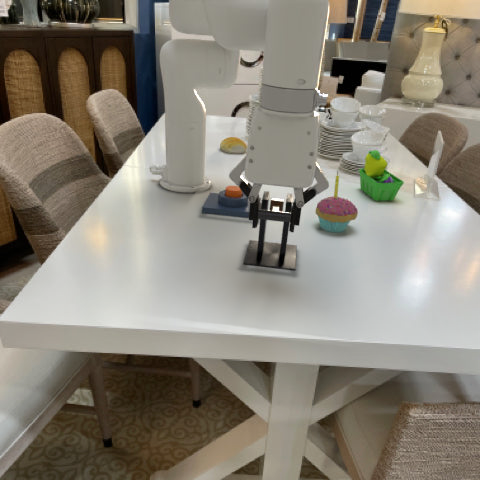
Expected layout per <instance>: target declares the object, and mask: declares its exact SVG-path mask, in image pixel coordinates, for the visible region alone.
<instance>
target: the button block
mask: <svg viewBox="0 0 480 480" xmlns="http://www.w3.org/2000/svg"><path fill="white" fill-rule="evenodd" d="M225 192H226V189H224V190H221V191H219V192H209V194H208V196H207V197H206V200H205V201H204V203H203V205H202V207H201V214H208V215H214V216H215V215H216V216H224V217H234V218H243V219H249V209H250V202H249V200H248V198H247V197H246V195H245V194H244V193H243V192H242V197H238V198H233V197H228V196H225ZM262 198H263V197H259V199H260V201H262Z"/></svg>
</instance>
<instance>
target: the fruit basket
mask: <svg viewBox="0 0 480 480" xmlns="http://www.w3.org/2000/svg"><path fill="white" fill-rule="evenodd" d="M387 167H388V161H387V160H386V159H385V157H383V156H382V155H381V153H380V151H379V150H376V149H374V150H369V151H368V153H367V154H366V156H365V158H364V168H358V172H359V182H360V183H359V185H360V190H361V191H362V192H364V194H366V195H367V196H369V197H370V198H371V199H372V200H373V201H375V202H378V201H379V202H384V201H385V202H388V201H394V200H395V198H396V197H397V194H398V192H400V189H401V187H403V185H404V183H405V182H404V180H402V179H401V178H398V177H397V176H395V175H394V174H393V173H391V172H390V171H388V170H386V169H387Z"/></svg>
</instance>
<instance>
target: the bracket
mask: <svg viewBox="0 0 480 480" xmlns="http://www.w3.org/2000/svg"><path fill="white" fill-rule="evenodd" d="M270 194H271V192H270V191H268V190H267V191H266V190H265V191H264V190H263V193H262V197H261V198H262V201H260V210H269V206H270V205H269V203H270ZM293 198H294V193H286V199H285V200H286V201H285V207H284V208H285V209H284V212H288V213H291V211H292V204H293ZM267 222H268V220H262V219H259V227H258V237H257V240H252V239H249V241H248V245H247V249H246V253H245V256H244V259H243V265H245V266H253V267H259V268H260V267H261V268H269V269H278V270H286V271H287V270H288V271H296V265H297V247H298V246H297V245H296V244H288V237H289V232H290V231H289V227H290V223H289V222H282V224H283V225H282V230H281V239H280V243H279V242H271V241H270V242H269V241H266V235H267V234H266V232H267Z"/></svg>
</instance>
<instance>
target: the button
mask: <svg viewBox="0 0 480 480" xmlns="http://www.w3.org/2000/svg"><path fill="white" fill-rule="evenodd" d="M225 190H226V192H225V196H228V197H233V198H238V197H242V191H241V189H240V188H239V186H238V185H227V186H226V187H225Z"/></svg>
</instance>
